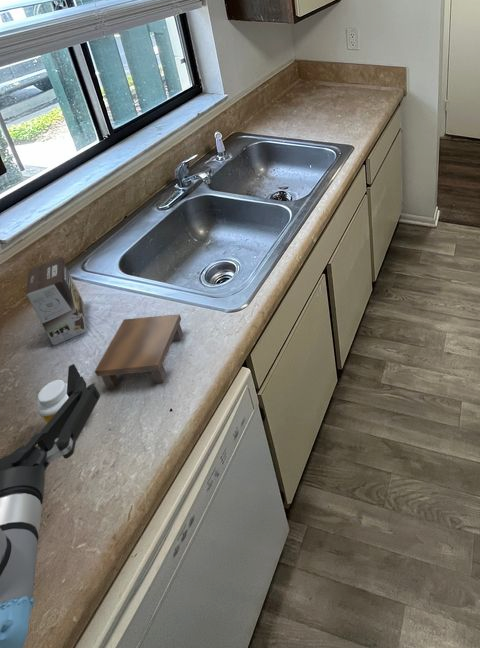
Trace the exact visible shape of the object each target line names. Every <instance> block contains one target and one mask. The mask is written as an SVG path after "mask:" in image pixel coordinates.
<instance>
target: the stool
mask: <svg viewBox="0 0 480 648" xmlns="http://www.w3.org/2000/svg"><path fill="white" fill-rule="evenodd" d="M181 320H182V317H181V314H180V313H178V314H169V315H168V314H167V315H157V316H147V317H136V318H124V319H123V320H122V322H121V324H120V325H119V327H118V328H117V331H116V332H115V334H114V336H113V338H112V340H111V341H110V343H109V345H108V347H107V349H106V351H105V352H104V354H103V356H102V358H101V359H100V360H99V363H98V365H97V367H96V368H95V370H94V373H95V375H96V376H97V377H101V379H102V381H103V383H104V385H105V387H106V389H111V388H112V389H113V388H116V386H117V384H118V382H119V381H120V379H119V377H118V375H126V374H134V373H135V374H136V373H146V372H150V373H151V374H152V375H151V376H152V377H153V379H154V382H155V384H161V383H162V384H163V383H165V382H166V381H165V380H166V379H167V375H168V374H167V372H166V370H165V366H164V364H163V363H164V362H165V359H166V356H167V354H168V351H169V349H170V347H171V345H172V343H173V342H177V341H178V342H179V341H181V340H182V339H183V336H184V332H183V329H182V326H181Z"/></svg>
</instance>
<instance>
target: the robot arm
mask: <svg viewBox="0 0 480 648" xmlns="http://www.w3.org/2000/svg"><path fill="white" fill-rule="evenodd" d="M66 383H67V395H68V397H69V398H68V399H67V400H66V402H65V403H64V404H63V405H62V406H61V408H60V409H59V410H58V411H57V412H56V414H55V415H54V416H53V417H52V418H51V420H50V421H49V422H48V423H47V424H45V426H44V427H43V428H41V430H40V431H39V432H36V433H34V434H33V435H32V437H31V438H30V439H29V440H28V441H27V443H26V444H23V445H22V446H20V447H19V448H17V449H15V450H14V451H12V452H11V453H10V454H7V455H4V456H3V457H1V458H0V648H24V645H25V643H26V640H27V637H28V632H29V626H30V619H31V613H32V609H34V606H35V605H34V604H35V598H34V591H35V580H36V569H37V568H36V567H37V558H38V557H37V556H38V545H39V539H40V530H41V529H40V528H41V519H42V509H43V508H42V507H43V504H44V503H43V501H44V494H45V486H46V485H45V482H46V471H47V469H48V467H49V465H50V464H51V462H52V461H54V460H57V459H58V458H60V457H63V459H69V458H70V457H71V456H72V455H74V452H75V448H76V444H77V440H78V438H79V437H80V435H81V433H82V431H83V429H84V428H85V426H86V424H87V422H88V421H89V418H90V417H91V415H92V413H93V411H94V409H95V408H96V405H97V404H98V402H99V401H100V398H101V394H100V392H99V391H98V389H97V387H96V385H95V384H94V383H92V384H88V385H87V382H86V380H85V379H84V377H83V376H81V374H80V372H79V370H78V368H77V367H76V365H75V363H72V364H70V365H69V366H68V369H67V382H66ZM37 446H38V447H37Z"/></svg>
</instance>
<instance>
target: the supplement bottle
mask: <svg viewBox="0 0 480 648" xmlns="http://www.w3.org/2000/svg"><path fill="white" fill-rule="evenodd" d="M68 398H69V397H68V395H67V382H65V381H64V380H62V379H55V380H52V381H50V382H49V383H47V384H46V385H44V386H43V387H42V388H41V389H40V390H39V392H38V395H37V400H38V403H37V407H36V410H37V413H38V415H39V417H40V418H41V419H42V421H43V424H44V425H46V424H47V423H48V422H49V421H50V420H51V418H52V417H53V416H54V415H55V414H56V412H57V411H58V410H59V409H60V408H61V406H62V405H63V404H64V403H65V402H66V400H67V399H68Z"/></svg>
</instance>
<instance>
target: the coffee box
mask: <svg viewBox="0 0 480 648" xmlns="http://www.w3.org/2000/svg"><path fill="white" fill-rule="evenodd" d="M25 293H26V294H25V295H26V296H27V298H28V300H29V302H30V304H31V306H32V308H33V310H34V312H35V314H36V316H37V318H38V319H39V321H40V323H41V325H42V327H43V329H44V331H45V333H46V335H47V336H48V338H49V340H50V342H51V345H52V346H56V345H59V344H61V343H64V342H66V341H68V340H71V339H73V338H76V337H78V336H80V335H83V334H85V333H86V305H85V302H84V300H83V298H82V296H81V294H80V292H79V289H78V287H77V285H76V283H75V281H74V278H73V277H72V274H71V273H70V269H68V266H67V264H66V262H65V259H64V257H63V256H62V257H58V258H55V259H52V260H50V261H47V262H45V263H42V264H40V265H37V266H34V267H31V268H29V270H28V276H27V284H26V292H25Z"/></svg>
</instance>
